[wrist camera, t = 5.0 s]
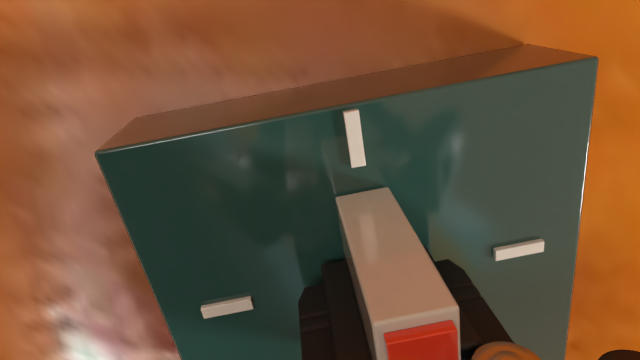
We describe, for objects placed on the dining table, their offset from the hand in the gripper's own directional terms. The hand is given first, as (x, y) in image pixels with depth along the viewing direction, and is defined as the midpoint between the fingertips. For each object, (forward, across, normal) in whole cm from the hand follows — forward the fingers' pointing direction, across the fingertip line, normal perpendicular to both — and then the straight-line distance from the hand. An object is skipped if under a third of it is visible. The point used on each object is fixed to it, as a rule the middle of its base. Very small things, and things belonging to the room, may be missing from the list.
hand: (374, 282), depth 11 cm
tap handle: (0, 0, 0) cm, 0 cm away
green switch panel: (+3, 0, 0) cm, 3 cm away
